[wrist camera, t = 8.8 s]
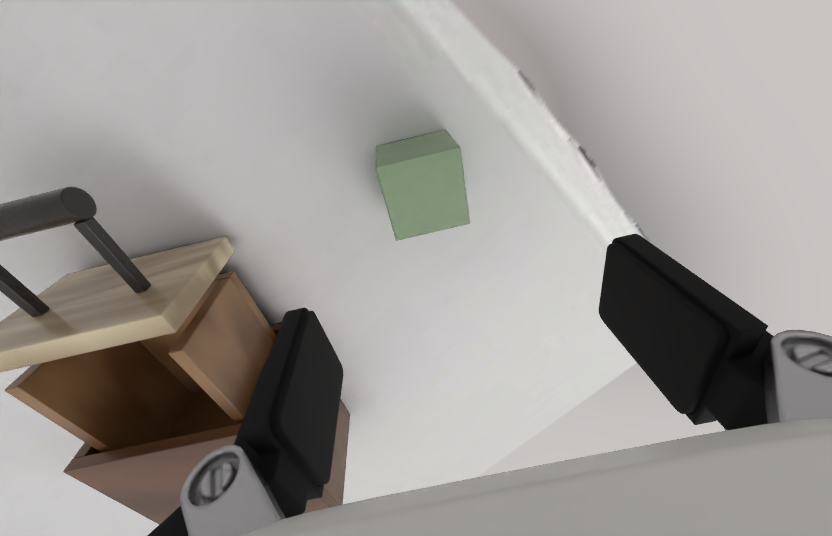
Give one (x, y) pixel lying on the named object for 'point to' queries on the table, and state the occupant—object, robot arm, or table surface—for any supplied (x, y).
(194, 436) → the cabinet
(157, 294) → the drawer
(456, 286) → the table surface
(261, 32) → the table surface
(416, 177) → the block
